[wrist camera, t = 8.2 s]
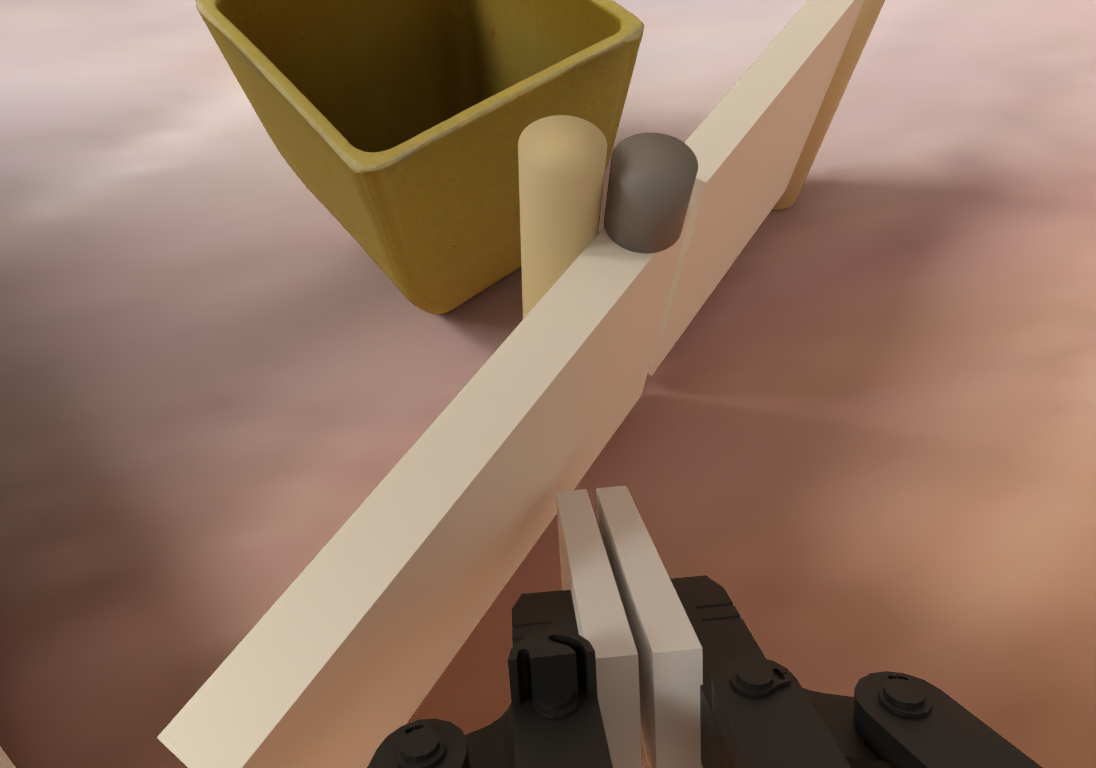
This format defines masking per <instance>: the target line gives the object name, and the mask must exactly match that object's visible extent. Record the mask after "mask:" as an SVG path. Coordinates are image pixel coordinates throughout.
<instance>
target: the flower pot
mask: <svg viewBox="0 0 1096 768" xmlns="http://www.w3.org/2000/svg"><path fill="white" fill-rule="evenodd" d="M196 7H197V10H198V11H199V13H200V15H201V16H202V18H203V20H204V22H205V23H206V25H207V27H208V29H209V30H210V32H211V34H212V36H213V38H214V39H215V41H216V43H217V45H218V47H219V48H220V50H221V52H222V54H223V55H224V57H225V59H226V61H227V63H228V64H229V66H230V68H231V70H232V71H233V73H234V75H235V77H236V78H237V80H238V82H239V84H240V85H241V87H242V89H243V91H244V92H245V94H246V96H247V98H248V99H249V101H250V103H251V105H252V106H253V108H254V110H255V112H256V113H257V115H258V117H259V119H260V120H261V122H262V124H263V126H264V127H265V129H266V131H267V132H268V134H269V136H270V137H271V139H272V141H273V142H274V144H275V145H276V147H277V149H278V150H279V152H280V153H281V155H282V156H283V157H284V159H285V160H286V162H287V163H288V164H289V166H290V167H291V168H292V170H293V171H294V172H295V173H296V175H297V176H298V177H299V178H300V180H301V181H302V182H303V183H304V184H305V186H306V187H307V188H308V189H309V190H310V191H311V192H312V193H313V194H314V196H315V197H316V198H317V199H318V200H319V201H320V202H321V203H322V204H323V205H324V206H325V207H326V208H327V209H328V210H329V212H330V213H331V214H332V215H333V216H334V217H335V218H336V219H337V220H338V221H339V222H340V223H341V224H342V226H343V227H344V228H345V229H346V230H347V231H348V232H349V233H350V234H351V235H352V236H353V237H354V239H355V240H356V241H357V242H358V243H359V244H360V245H361V246H362V247H363V249H364V250H365V251H366V252H367V253H368V254H369V255H370V257H371V258H372V259H373V260H374V261H375V262H376V263H377V265H378V266H379V267H380V268H381V269H382V270H383V271H384V273H385V274H386V275H387V276H388V277H389V278H390V280H391V281H392V282H393V283H394V284H395V285H396V287H397V288H398V289H399V290H400V291H401V293H402V294H403V295H404V296H405V297H406V298H407V299H408V300H409V301H410V302H412V303H413V304H414V305H415V306H417V307H418V308H420V309H422V310H424V311H426V312H429V313H433V314H444V313H447V312H449V311H451V310H453V309H454V308H456V307H458V306H459V305H461V304H462V303H464V302H465V301H467V300H469V299H470V298H472V297H473V296H475V295H477V294H478V293H480V292H481V291H483V290H484V289H486V288H487V287H489V286H491V285H492V284H494V283H495V282H497V281H499V280H500V279H502V278H503V277H505V276H507V275H508V274H510V273H512V272H513V271H515V270H517V269H518V268H520V267H521V234H520V199H519V165H518V140H519V137H520V135H521V133H522V132H523V130H524V129H525V128H526V127H527V126H528V125H530V124H531V123H533V122H534V121H537V120H539V119H541V118H544V117H548V116H555V115H568V116H574V117H578V118H582V119H584V120H587V121H589V122H591V123H592V124H594V125H595V126H596V127H598V128H599V129H600V130H601V132H602V133H603V134H604V136H605V138H606V141H607V155H606V164H605V170H606V167H607V165H608V162H609V158H610V155H611V152H612V148H613V144H614V141H615V137H616V133H617V130H618V126H619V122H620V119H621V115H622V111H623V107H624V103H625V100H626V96H627V92H628V88H629V84H630V81H631V77H632V73H633V69H634V65H635V61H636V57H637V53H638V49H639V45H640V42H641V39H642V35H643V29H644V24H643V23H642V22H641V21H640V20H639V19H638V18H637V17H636V16H635V15H634V14H632V13H631V12H629V11H627V10H626V9H625V8H623V7H622V6H620V5H619V4H617V3H616V2H614V1H612V0H196Z"/></svg>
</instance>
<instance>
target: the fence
mask: <svg viewBox="0 0 1096 768" xmlns="http://www.w3.org/2000/svg"><path fill="white" fill-rule="evenodd" d="M884 1H885V0H808V1H807V2H806V3H805V4H804V6H803V7H802V8H801V9H800V10H799V11H798V12H797V14H796V15H795V16H794V17H793V18H792V19H791V21H790V22H789V23H788V24H787V25H786V26H785V27H784V29H783V30H782V31H781V32H780V33H779V34H778V35H777V37H776V38H775V39H774V40H773V41H772V42H771V43H770V45H769V46H768V47H767V48H766V49H765V50H764V52H763V53H762V54H761V55H760V56H759V57H758V58H757V60H756V61H755V62H754V63H753V64H752V65H751V66H750V68H749V69H748V70H747V71H746V72H745V73H744V75H743V76H742V77H741V78H740V79H739V80H738V81H737V83H736V84H735V85H734V86H733V87H732V88H731V89H730V91H729V92H728V93H727V94H726V95H725V96H724V97H723V99H722V100H721V101H720V102H719V103H718V104H717V106H716V107H715V108H714V109H713V110H712V111H711V112H710V114H709V115H708V116H707V117H706V118H705V119H704V120H703V122H702V123H701V124H700V125H699V126H698V127H697V128H696V130H695V131H694V132H693V133H692V134H691V135H690V137H689V138H688V139H687V140H686V141H685V142H684V143H685V144H686V145H687V146H689V147H690V149H691V150H692V151H693V152H694V154H695V156H696V158H697V161H698V171H697V175H696V179H695V183H694V186H693V190H692V194H691V198H690V202H689V206H691V207H692V210H691V214H690V217H689V221H688V225H687V228H686V232H685V236H684V240H683V243H682V247H681V251H680V254H679V258H678V262H677V266H676V269H675V273H674V277H673V280H672V284H671V288H670V291H669V295H668V299H667V303H666V306H665V310H664V314H663V317H662V321H661V325H660V329H659V332H658V336H657V340H656V343H655V347H654V351H653V355H652V358H651V362H650V366H649V369H648V374H650V375H651V376H652V375H653V374H654V372H655V371H656V370H657V368H658V367H659V365H660V364H661V363H662V361H663V360H664V358H665V357H666V356H667V354H668V353H669V351H670V350H671V349H672V347H673V346H674V345H675V343H676V342H677V340H678V339H679V338H680V336H681V335H682V333H683V332H684V331H685V329H686V328H687V326H688V325H689V324H690V322H691V321H692V320H693V318H694V317H695V315H696V314H697V313H698V311H699V310H700V308H701V307H702V306H703V304H704V303H705V301H706V300H707V299H708V297H709V296H710V295H711V293H712V292H713V290H714V289H715V288H716V286H717V285H718V283H719V282H720V281H721V279H722V278H723V276H724V275H725V274H726V272H727V271H728V270H729V268H730V267H731V265H732V264H733V263H734V261H735V260H736V258H737V257H738V256H739V254H740V253H741V251H742V250H743V249H744V247H745V246H746V245H747V243H748V242H749V240H750V239H751V238H752V236H753V235H754V233H755V232H756V231H757V229H758V228H759V226H760V225H761V224H762V222H763V221H764V220H765V218H766V217H767V215H768V214H769V213H770V211H771V210H772V209H774V210H782V209H786V208H789V207H791V206H792V205H793V204H794V203H795V202H796V199H797V197H798V195H799V193H800V190H801V188H802V186H803V184H804V181H805V179H806V177H807V175H808V172H809V170H810V168H811V166H812V163H813V161H814V159H815V157H816V154H817V152H818V150H819V148H820V145H821V143H822V141H823V139H824V136H825V134H826V132H827V130H828V127H829V125H830V123H831V121H832V118H833V116H834V114H835V112H836V109H837V107H838V105H839V103H840V100H841V98H842V96H843V94H844V91H845V89H846V87H847V85H848V82H849V80H850V78H851V76H852V73H853V71H854V69H855V67H856V64H857V62H858V60H859V58H860V55H861V53H862V51H863V49H864V46H865V44H866V42H867V40H868V37H869V35H870V33H871V31H872V28H873V26H874V24H875V22H876V19H877V17H878V15H879V13H880V10H881V8H882V6H883V4H884ZM606 155H607V141H606V138H605V136H604V134H603V133H602V132H601V130H600V129H599V128H598V127H596V126H595V125H594V124H592V123H591V122H589V121H587V120H584V119H582V118H578V117H574V116H568V115H555V116H548V117H544V118H541V119H539V120H537V121H534V122H533V123H531V124H530V125H528V126H527V127H526V128H525V129H524V130H523V132H522V133H521V135H520V137H519V140H518V165H519V199H520V234H521V268H522V302H523V319H524V318H525V317H526V316H527V315H528V313H529V312H530V311H531V310H532V309H533V308H534V307H535V305H536V304H537V303H538V302H539V301H540V300H541V299H542V297H543V296H544V295H545V294H546V293H547V292H548V291H549V289H550V288H551V287H552V286H553V285H554V284H555V283H556V281H557V280H558V279H559V278H560V277H561V276H562V275H563V273H564V272H565V271H566V270H567V269H568V268H569V267H570V265H571V264H572V263H573V262H574V261H575V260H576V259H577V257H578V256H579V255H580V254H581V253H582V252H583V251H584V249H585V248H586V247H587V246H588V245H589V244H590V243H591V242H592V241H593V240H594V238H595V237H596V236H597V235H598V227H599V218H600V209H601V200H602V191H603V182H604V173H605V164H606Z"/></svg>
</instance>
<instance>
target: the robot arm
mask: <svg viewBox="0 0 1096 768" xmlns="http://www.w3.org/2000/svg"><path fill="white" fill-rule="evenodd" d="M556 504H557V520H558V535H559V551H560V567H561V582H562V591H551V592H540V593H529V594H522V595H521V596H520V598H519V599H518V601H517V602H516V604H515V605H514V607H513V608H512V628H513V629H512V634H513V648H512V649H511V651H510V655H509V659H508V665H509V677H510V688H511V700H512V702H511V704H510V706H509V708H508V710H507V711H506V712H505V713H504V714H503V715H502V716H501V718H499V719H498V720H496V721H495V722H493V723H492V724H491V725H489V726H487V727H484V728H482V729H480V730H478V731H475V732H472V733H469V734H467V735H464V734H463V732H462V730H461V729H460V728H458V727H457V726H455V725H454V724H453V723H451V722H448V721H443V720H439V719H427V720H418V721H415V722H412V723H409V724H406V725H403V726H401V727H400V728H398V729H397V730H395V731H394V732H392V733H391V734H389V735H388V736H387V737H386V738H385V739H384V741H383V742H382V743H381V744H380V746H379V747H378V748H377V750H376V752H375V754H374V756H373V757H372V759H371V761H370V763H369V765H368V767H367V768H642V748H641V742H642V745H643V749H644V753H645V757H646V760H647V764H648V768H1042V767H1041V766H1039V765H1038V764H1037V763H1035V762H1034V761H1033V760H1032V759H1030V758H1029V757H1028V756H1026V755H1025V754H1024V753H1022V752H1021V751H1020V750H1018V749H1017V748H1016V747H1015V746H1013V745H1012V744H1011V743H1009V742H1008V741H1007V740H1005V739H1004V738H1003V737H1001V736H1000V735H999V734H998V733H996V732H995V731H994V730H992V729H991V728H990V727H988V726H987V725H986V724H984V723H983V722H982V721H980V720H979V719H978V718H977V717H975V716H974V715H973V714H971V713H970V712H969V711H967V710H966V709H965V708H963V707H962V706H961V705H960V704H958V703H957V702H956V701H954V700H953V699H952V698H950V697H949V696H948V695H946V694H945V693H944V692H943V691H941V690H940V689H938V688H936V687H935V686H933V685H931V684H930V683H928V682H926V681H925V680H922V679H919V678H916V677H913V676H910V675H907V674H903V673H895V672H878V673H871V674H869V675H867V676H865V677H863V678H861V679H860V680H859V682H858V684H857V685H856V687H855V694H854V697H848V696H840V695H832V694H824V693H819V692H814V691H810V690H807V689H804V688H802V687H801V685H800V684H799V682H798V680H797V679H796V678H795V677H794V676H793V675H792V673H791V672H790V671H789V670H788V669H787V668H785V667H783V666H781V665H779V664H778V663H776V662H774V661H771V660H767V659H766V658H765V656H764V655H763V653H762V651H761V650H760V648H759V646H758V645H757V643H756V641H755V640H754V638H753V636H752V635H751V633H750V631H749V630H748V628H747V626H746V625H745V623H744V621H743V620H742V619H741V618H740V615H739V613H738V611H737V610H736V608H735V606H733V603H732V601H731V600H730V598H729V596H728V595H727V593H726V591H725V590H724V588H723V587H721V586H720V585H718V584H717V583H716V582H714V581H713V580H711V579H710V578H708V577H707V576H696V577H685V578H674V579H670V578H669V576H668V573H667V571H666V569H665V567H664V565H663V563H662V561H661V558H660V556H659V554H658V552H657V550H656V548H655V546H654V544H653V541H652V539H651V537H650V535H649V533H648V531H647V529H646V526H645V524H644V522H643V520H642V518H641V516H640V514H639V511H638V509H637V507H636V505H635V503H634V501H633V499H632V496H631V494H630V492H629V490H628V488H627V486H615V487H603V488H596V504H597V521H596V518H595V514H594V511H593V508H592V505H591V502H590V498H589V495H588V492H587V489H580V490H568V491H556Z"/></svg>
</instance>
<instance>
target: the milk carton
mask: <svg viewBox="0 0 1096 768" xmlns="http://www.w3.org/2000/svg"><path fill="white" fill-rule="evenodd" d="M0 768H16V767H15V766H14V764H13V763H12V762H11V760H10V759H9V757H8V756H7V755H6V753H5V752H4V751H3V749H2V748H1V746H0Z"/></svg>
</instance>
